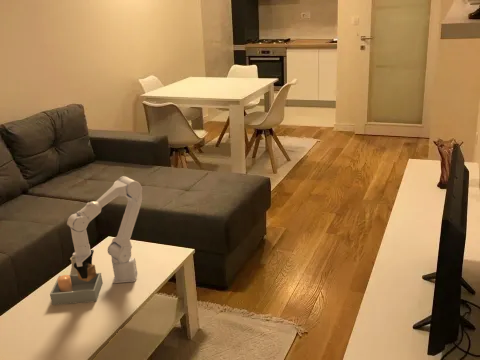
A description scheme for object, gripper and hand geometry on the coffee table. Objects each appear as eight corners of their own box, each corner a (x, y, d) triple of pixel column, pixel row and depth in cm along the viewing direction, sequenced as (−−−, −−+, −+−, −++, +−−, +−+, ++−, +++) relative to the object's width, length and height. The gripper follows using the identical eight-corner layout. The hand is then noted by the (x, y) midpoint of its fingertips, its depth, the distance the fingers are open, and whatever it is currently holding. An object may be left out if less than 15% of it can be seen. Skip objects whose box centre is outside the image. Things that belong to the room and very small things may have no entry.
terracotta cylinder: (64, 289, 215) (62, 274, 213) (75, 290, 214) (72, 275, 212) (57, 295, 211) (54, 280, 208) (68, 297, 209) (65, 282, 207)
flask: (81, 283, 220) (77, 262, 217) (66, 282, 222) (61, 261, 218) (89, 274, 227) (85, 253, 223) (74, 273, 228) (70, 252, 225)
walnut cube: (87, 273, 213) (85, 262, 212) (96, 275, 211) (94, 265, 209) (78, 279, 209) (76, 268, 208) (87, 281, 207) (85, 270, 205)
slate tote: (102, 283, 219) (100, 272, 217) (96, 301, 207) (94, 290, 205) (61, 286, 219) (58, 276, 217) (52, 304, 206) (49, 294, 204)
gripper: (75, 235, 211) (80, 264, 216) (66, 253, 198) (72, 283, 203) (92, 234, 211) (98, 263, 216) (84, 251, 198) (90, 282, 203)
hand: (86, 273), depth 210 cm, fingers closed on walnut cube, 7 cm apart
